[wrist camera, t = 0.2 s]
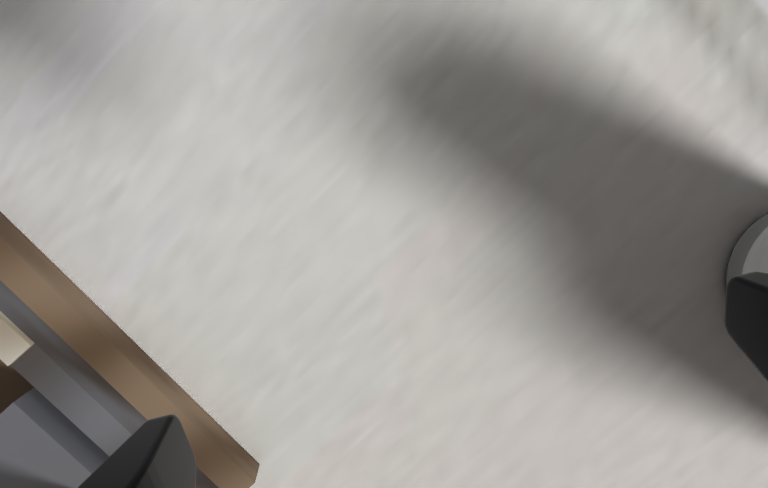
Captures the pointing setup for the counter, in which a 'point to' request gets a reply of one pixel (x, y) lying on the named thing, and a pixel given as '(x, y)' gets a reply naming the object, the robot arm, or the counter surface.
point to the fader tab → (43, 446)
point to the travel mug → (750, 251)
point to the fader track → (95, 366)
